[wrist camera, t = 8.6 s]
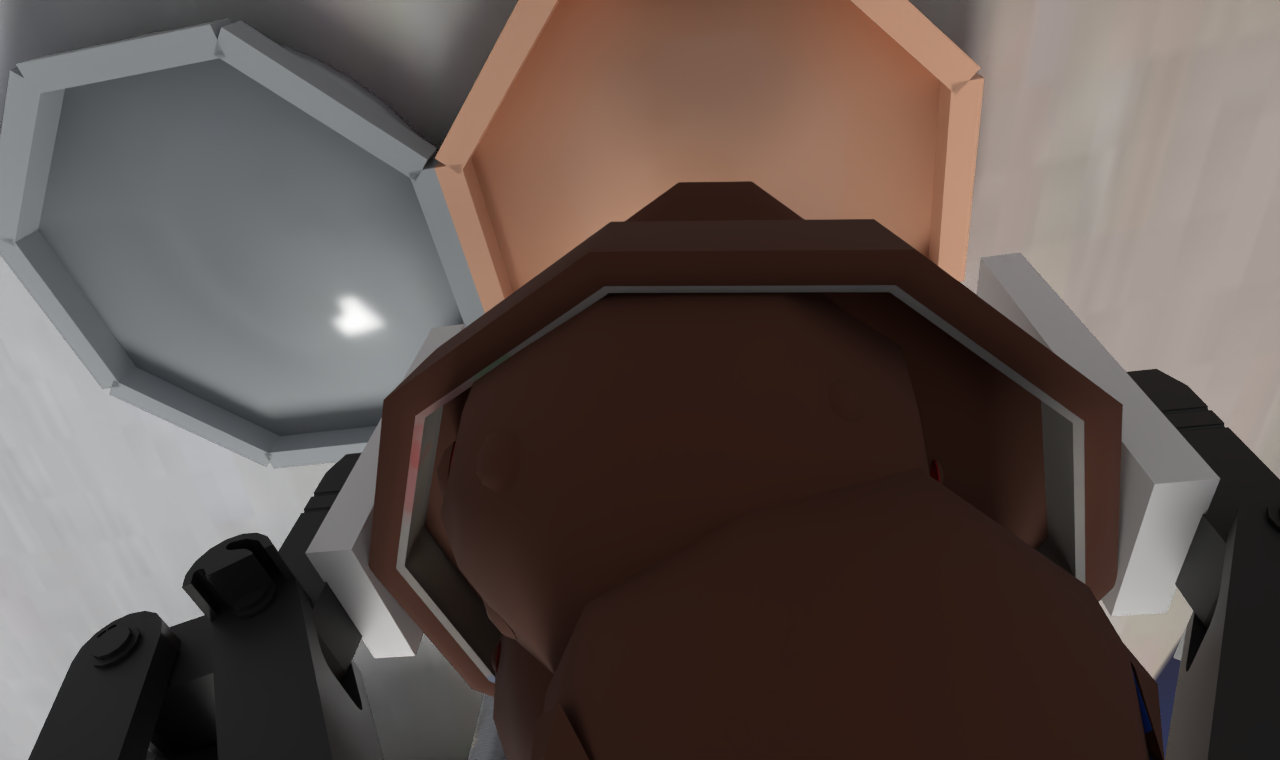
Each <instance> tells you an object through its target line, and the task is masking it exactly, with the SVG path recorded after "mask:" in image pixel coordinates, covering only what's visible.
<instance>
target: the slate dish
mask: <svg viewBox="0 0 1280 760" xmlns="http://www.w3.org/2000/svg"><path fill="white" fill-rule="evenodd" d="M16 66H17V67H18V68H15V69H12V70H10V72H9V79H8V86H7V93H6V100H5V107H4V114H3V121H2V128H1V135H0V255H1V256H2V258H3V259H4V260H5V262H6V263H7V264H8V266H9V267H10V268H11V270H12V271H13V272H14V274H15V275H16V276H17V277H18V279H19V280H20V281H21V283H22V284H23V285H24V287H25V288H26V289H27V291H28V292H29V293H30V295H31V296H32V297H33V298H34V300H35V301H36V302H37V304H38V305H39V306H40V308H41V309H42V310H43V312H44V313H45V314H46V316H47V317H48V318H49V320H50V321H51V322H52V323H53V325H54V326H55V327H56V329H57V330H58V331H59V333H60V334H61V335H62V337H63V338H64V339H65V341H66V342H67V343H68V344H69V346H70V347H71V348H72V350H73V351H74V352H75V354H76V355H77V356H78V358H79V359H80V360H81V362H82V363H83V364H84V366H85V367H86V368H87V369H88V371H89V372H90V373H91V375H92V376H93V377H94V379H95V380H96V381H97V383H98V384H99V385H100V387H101V388H102V389H105V388H111V390H110V395H112V396H114V397H116V398H118V399H120V400H123V401H125V402H127V403H129V404H131V405H133V406H136V407H138V408H140V409H142V410H144V411H146V412H149V413H151V414H153V415H155V416H157V417H159V418H161V419H164V420H166V421H168V422H170V423H172V424H174V425H177V426H179V427H181V428H183V429H185V430H187V431H189V432H192V433H194V434H196V435H198V436H200V437H202V438H205V439H207V440H209V441H211V442H213V443H215V444H218V445H220V446H222V447H224V448H226V449H228V450H230V451H233V452H235V453H237V454H239V455H241V456H243V457H246V458H248V459H250V460H252V461H254V462H256V463H258V464H261V465H263V466H265V467H267V466H268V464H269V463H271V465H272V466H273V468H274V469H275V468H285V467H294V466H304V465H314V464H324V463H333V462H338V461H339V460H340V459H342V458H343V457H344V456H345V455H346V454H352V453H362V452H363V450H364V448H365V446H366V445H367V443H368V441H369V439H370V437H371V436H372V434H373V432H374V430H375V429H376V427H377V425H378V423H379V421H380V420H381V418H382V411H383V400H384V399H385V398H386V397H387V396H388V395H389V394H390V393H391V392H392V391H393V390H394V389H395V388H396V387H397V386H398V385H399V384H400V383H401V382H402V381H403V379H404V377H405V375H406V374H407V372H408V370H409V368H410V367H411V365H412V363H413V361H414V359H415V358H416V356H417V354H418V352H419V351H420V349H421V347H422V345H423V343H424V342H425V340H426V338H427V336H428V335H429V333H430V331H431V329H432V328H436V327H444V326H452V325H460V324H464V326H465V328H466V327H467V326H468V325H470V324H471V323H472V322H474V321H475V320H477V319H478V318H479V317H481V316H482V315H483V314H485V313H484V310H483V307H482V304H481V301H480V298H479V295H478V292H477V290H476V287H475V284H474V281H473V278H472V275H471V272H470V269H469V267H468V264H467V261H466V258H465V255H464V252H463V249H462V246H461V244H460V241H459V238H458V235H457V232H456V229H455V226H454V223H453V221H452V218H451V215H450V212H449V209H448V206H447V203H446V200H445V198H444V195H443V192H442V189H441V186H440V183H439V180H438V177H437V175H436V172H435V169H434V168H435V167H436V165H437V164H438V163H439V162H440V161H438V160H437V159H435V157H436V155H435V152H436V150H437V148H436V147H434V146H433V145H431V144H430V143H428V142H427V141H425V140H424V139H422V138H421V137H419V135H418V134H417V133H416V132H415V131H414V130H413V129H412V128H411V127H410V126H409V125H408V124H407V123H406V122H405V121H404V120H403V119H402V118H401V117H399V116H398V115H397V114H396V113H395V112H394V111H393V110H392V109H391V108H390V107H389V106H387V105H386V104H385V103H384V102H383V101H381V100H380V99H379V98H377V97H376V96H375V95H373V94H372V93H371V92H369V91H368V90H366V89H365V88H364V87H362V86H361V85H360V84H358V83H357V82H356V81H354V80H353V79H351V78H349V77H347V76H346V75H344V74H342V73H340V72H339V71H337V70H335V69H334V68H332V67H330V66H328V65H327V64H325V63H323V62H322V61H319V60H317V59H315V58H313V57H310V56H308V55H306V54H303V53H301V52H299V51H297V50H294V49H292V48H290V47H288V46H285V45H281V44H278V43H275V42H273V41H272V40H270V39H269V38H267V37H266V36H264V35H262V34H261V33H259V32H258V31H256V30H255V29H253V28H252V27H250V26H249V25H247V24H246V23H244V22H243V21H238V22H235V23H232V21H231V19H230V18H227V19H222V20H217V21H212V22H207V23H202V24H197V25H193V26H188V27H183V28H178V29H173V30H166V31H157V32H151V33H147V34H144V35H141V36H137V37H134V38H129V39H124V40H119V41H115V42H110V43H105V44H100V45H95V46H90V47H85V48H80V49H75V50H71V51H66V52H61V53H56V54H51V55H46V56H42V57H38V58H35V59H31V60H28V61H24V62H21V63H17V64H16Z"/></svg>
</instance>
